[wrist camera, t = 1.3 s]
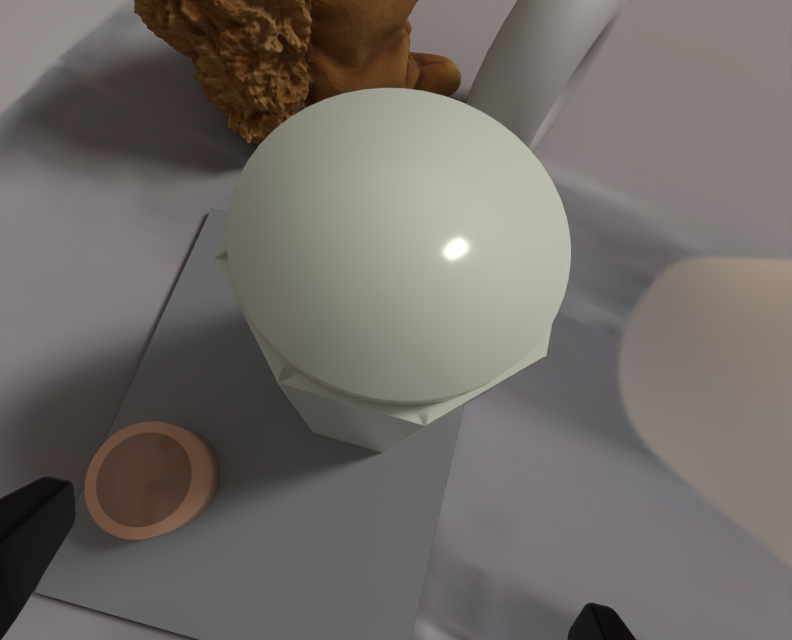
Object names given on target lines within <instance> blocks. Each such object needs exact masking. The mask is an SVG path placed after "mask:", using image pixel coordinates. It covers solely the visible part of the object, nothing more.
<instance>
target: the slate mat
mask: <svg viewBox="0 0 792 640" xmlns="http://www.w3.org/2000/svg"><path fill="white" fill-rule="evenodd" d="M227 216H228V213H227V212H224V211H221V210H217V209H214V208H211V211H210V213H209V215H208V217H207V219H206V221H205V224H204V226H203V228H202V230H201V232H200V234H199V237H198V239H197V241H196V243H195V245H194V248H193V250H192V252H191V254H190V256H189V258H188V261H187V263H186V265H185V267H184V269H183V271H182V274H181V276H180V278H179V280H178V282H177V284H176V287H175V289H174V291H173V293H172V295H171V298H170V300H169V302H168V304H167V306H166V308H165V311H164V313H163V315H162V317H161V319H160V321H159V324H158V326H157V328H156V330H155V332H154V334H153V337H152V339H151V341H150V343H149V345H148V348H147V350H146V352H145V354H144V356H143V358H142V361H141V363H140V365H139V367H138V369H137V371H136V374H135V376H134V378H133V380H132V382H131V384H130V387H129V389H128V391H127V393H126V395H125V398H124V400H123V402H122V404H121V406H120V408H119V411H118V413H117V415H116V417H115V419H114V421H113V424H112V426H111V428H110V430H109V432H108V434H107V437H106V439H105V441H104V443H105V442H106V441H107V440H108V439H109V438H110V437H111V436H113V435H114V434H115V433H117V432H118V431H120V430H122V429H124V428H126V427H128V426H131V425H134V424H137V423H142V422H150V421H156V422H164V423H168V424H171V425H175V426H178V427H181V428H185V429H188V430H191V431H194V432H196V433H198V434H199V435H201V436H202V437H204V438H205V439H206V440H207V441H208V442H209V443H210V445H211V446H212V447H213V449H214V451H215V453H216V455H217V458H218V461H219V466H220V480H219V486H218V489H217V492H216V494H215V497H214V499H213V501H212V502H211V504H210V505H209V507H208V508H207V509H206V511H205V512H204V513H203V514H202V515H201V516H200V517H199V518H197V519H196V520H195V521H193V522H192V523H190V524H189V525H187V526H185V527H183V528H180V529H177V530H174V531H171V532H168V533H165V534H161V535H158V536H155V537H152V538H147V539H141V540H129V539H123V538H119V537H116V536H114V535H112V534H110V533H108V532H106V531H105V530H104V529H102V528H101V527H100V526H99V525H98V524H97V523H96V522H95V520H94V519H93V517H92V516H91V514H90V512H89V510H88V507H87V504H86V500H85V484H84V487H83V489H82V491H81V493H80V495H79V498H78V500H77V502H76V504H75V508H76V518H75V521H74V524H73V526H72V528H71V530H70V532H69V533H68V535H67V537H66V538H65V540H64V542H63V543H62V545H61V547H60V548H59V550H58V551H57V553H56V555H55V556H54V558H53V560H52V561H51V563H50V565H49V566H48V568H47V570H46V571H45V573H44V574H43V576H42V578H41V580H40V582H39V585H38V587H37V589H36V591H35V593H39V594H42V595H46V596H49V597H53V598H56V599H60V600H63V601H67V602H70V603H74V604H77V605H81V606H84V607H88V608H91V609H94V610H98V611H101V612H105V613H108V614H112V615H115V616H119V617H122V618H126V619H129V620H133V621H136V622H140V623H143V624H147V625H150V626H154V627H157V628H160V629H164V630H167V631H171V632H174V633H178V634H181V635H185V636H188V637H192V638H195V639H199V640H411V636H412V631H413V627H414V622H415V618H416V614H417V609H418V605H419V601H420V596H421V592H422V588H423V583H424V579H425V575H426V570H427V566H428V561H429V557H430V553H431V548H432V544H433V540H434V535H435V531H436V527H437V522H438V518H439V514H440V509H441V505H442V500H443V496H444V492H445V487H446V483H447V479H448V474H449V470H450V466H451V461H452V457H453V453H454V448H455V444H456V439H457V435H458V431H459V426H460V422H461V418H462V413H463V409H464V406H462V407H460V408H459V409H457V410H455V411H454V412H452V413H450V414H449V415H447V416H445V417H444V418H441V419H440V420H438V421H436V422H435V423H433V424H431V425H429V426H428V427H426V428H424V429H422V430H421V431H419V432H417V433H416V434H414V435H412V436H410V437H409V438H407V439H405V440H403V441H402V442H400V443H398V444H397V445H395V446H393V447H391V448H390V449H388V450H387V451H385V452H383V453H381V452H378V451H374V450H371V449H368V448H364V447H361V446H357V445H354V444H351V443H347V442H344V441H340V440H337V439H334V438H330V437H327V436H323V435H320V434H316V433H313V432H312V431H311V429H310V428H309V426H308V425H307V424H306V422H305V421H304V419H303V418H302V417H301V415H300V414H299V412H298V411H297V410H296V408H295V407H294V405H293V404H292V403H291V401H290V400H289V399H288V397H287V396H286V394H285V393H284V392H283V390H282V389H281V387H280V386H279V385H278V383H277V380H276V378H275V376H274V374H273V372H272V370H271V368H270V366H269V364H268V362H267V360H266V358H265V356H264V354H263V352H262V350H261V348H260V346H259V344H258V342H257V340H256V338H255V336H254V334H253V332H252V330H251V328H250V326H249V324H248V322H247V320H246V318H245V316H244V314H243V312H242V310H241V308H240V306H239V304H238V302H237V300H236V298H235V296H234V294H233V292H232V290H231V288H230V286H229V284H228V282H227V280H226V278H225V276H224V275H223V273H222V271H221V269H220V267H219V265H218V263H217V261H216V260H215V256H216V254H217V252H218V249H219V247H220V245H221V243H222V240H223V238H224V236H225V233H226V229H227ZM104 443H103V444H104Z"/></svg>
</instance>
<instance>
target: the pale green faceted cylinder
mask: <svg viewBox="0 0 792 640" xmlns="http://www.w3.org/2000/svg"><path fill="white" fill-rule="evenodd" d="M215 260H216V261H217V263H218V265H219V267H220V269H221V271H222V273H223V275H224V276H225V278H226V280H227V282H228V284H229V286H230V288H231V290H232V292H233V294H234V296H235V298H236V300H237V302H238V304H239V306H240V308H241V310H242V312H243V314H244V316H245V318H246V320H247V322H248V324H249V326H250V328H251V330H252V332H253V334H254V336H255V338H256V340H257V342H258V344H259V346H260V348H261V350H262V352H263V354H264V356H265V358H266V360H267V362H268V364H269V366H270V368H271V370H272V372H273V374H274V376H275V378H276V380H277V383H278V385H279V386H280V387H281V389H282V390H283V392H284V393H285V394H286V396H287V397H288V399H289V400H290V401H291V403H292V404H293V405H294V407H295V408H296V410H297V411H298V412H299V414H300V415H301V417H302V418H303V419H304V421H305V422H306V424H307V425H308V426H309V428H310V429H311V431H312V432H313V433H316V434H320V435H323V436H327V437H330V438H334V439H337V440H340V441H344V442H347V443H351V444H354V445H357V446H361V447H364V448H368V449H371V450H374V451H378V452H381V453H383V452H385V451H387V450H388V449H390V448H391V447H393V446H395V445H397V444H398V443H400V442H402V441H403V440H405V439H407V438H409V437H410V436H412V435H414V434H416V433H417V432H419V431H421V430H422V429H424V428H426V427H428V426H429V425H431V424H433V423H435V422H436V421H438V420H440V419H441V418H444V417H445V416H447V415H449V414H450V413H452V412H454V411H455V410H457V409H459V408H460V407H462V406H464V405H465V404H467V403H469V402H470V401H472V400H474V399H475V398H477V397H479V396H481V395H482V394H484V393H486V392H487V391H489V390H491V389H492V388H494V387H496V386H497V385H499V384H501V383H502V382H504V381H506V380H507V379H509V378H511V377H512V376H514V375H516V374H517V373H519V372H521V371H522V370H524V369H526V368H527V367H529V366H531V365H532V364H534V363H536V362H537V361H539V360H541V359H542V358H544V357H546V355H547V349H548V343H549V338H550V332H551V327H552V322H553V320H554V318H555V317H556V315H557V312H558V310H559V307H560V305H561V303H562V300H563V298H564V295H565V291H566V287H567V283H568V279H569V271H570V261H571V246H570V234H569V228H568V223H567V217H566V214H565V211H564V208H563V205H562V202H561V199H560V197H559V194H558V192H557V190H556V188H555V186H554V184H553V182H552V180H551V178H550V177H549V175H548V173H547V172H546V170H545V169H544V167H543V166H542V164H541V163H540V162H539V160H538V159H537V158H536V157H535V155H534V154H533V153H532V152H531V150H530V149H529V148H528V147H527V146H526V145H525V144H524V143H523V142H522V141H521V140H520V139H519V138H518V137H517V136H516V135H515V134H513V133H512V132H511V131H510V130H508V129H507V128H506V127H504V126H503V125H502V124H501V123H499V122H498V121H496V120H495V119H493V118H491V117H490V116H488V115H487V114H485V113H483V112H482V111H480V110H478V109H475V108H473V107H471V106H469V105H467V104H465V103H463V102H460V101H457V100H454V99H452V98H449V97H446V96H443V95H439V94H435V93H430V92H426V91H420V90H413V89H406V88H375V89H364V90H358V91H353V92H348V93H343V94H340V95H337V96H334V97H330V98H327V99H324V100H322V101H320V102H318V103H315V104H313V105H311V106H309V107H306V108H305V109H303V110H301V111H300V112H298V113H296V114H295V115H293V116H291V117H290V118H288V119H287V120H286V121H285V122H283V123H282V124H281V125H280V126H278V127H277V128H276V129H274V130H273V131H272V132H271V133H270V134H269V135H268V136H267V138H266V139H265V140H264V141H263V142H262V143H261V144H260V145H259V146H258V147H257V149H256V150H255V152H254V153H253V154H252V156H251V157H250V158H249V160H248V161H247V163H246V165H245V167H244V169H243V170H242V172H241V174H240V176H239V178H238V180H237V183H236V186H235V189H234V191H233V194H232V197H231V201H230V206H229V211H228V216H227V229H226V233H225V236H224V238H223V240H222V243H221V245H220V247H219V249H218V252H217V254H216V256H215Z"/></svg>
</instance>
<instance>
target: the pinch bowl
mask: <svg viewBox="0 0 792 640" xmlns="http://www.w3.org/2000/svg"><path fill="white" fill-rule="evenodd" d="M219 480H220V466H219V461H218V458H217V455H216V453H215V451H214V449H213V447H212V446H211V445H210V443H209V442H208V441H207V440H206V439H205V438H204V437H202V436H201V435H199V434H198V433H196V432H194V431H191V430H188V429H185V428H181V427H178V426H175V425H171V424H168V423H164V422H156V421H150V422H142V423H137V424H134V425H131V426H128V427H126V428H124V429H122V430H120V431H118V432H117V433H115V434H114V435H113V436H111V437H110V438H109V439H108V440H107V441H106V442H105V443H104V444H103V445H102V446H101V447H100V448H99V450H98V451H97V452H96V454H95V455H94V457H93V459H92V461H91V463H90V465H89V468H88V470H87V474H86V478H85V500H86V504H87V507H88V510H89V512H90V514H91V516H92V517H93V519H94V520H95V522H96V523H97V524H98V525H99V526H100V527H101V528H102V529H104V530H105V531H106V532H108V533H110V534H112V535H114V536H116V537H119V538H123V539H129V540H141V539H147V538H152V537H155V536H158V535H161V534H165V533H168V532H171V531H174V530H177V529H180V528H183V527H185V526H187V525H189V524H190V523H192V522H193V521H195V520H196V519H197V518H199V517H200V516H201V515H202V514H203V513H204V512H205V511H206V509H207V508H208V507H209V505H210V504H211V502H212V501H213V499H214V497H215V494H216V492H217V489H218V486H219Z"/></svg>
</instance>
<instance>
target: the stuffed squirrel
mask: <svg viewBox="0 0 792 640" xmlns="http://www.w3.org/2000/svg"><path fill="white" fill-rule="evenodd" d="M417 1H418V0H134V3H135V6H134V9H135V11H134V13H136V14H138V15H139V16H140V17H141V19H142V21H143V23H145V24H146V25H147V28H148V29H149V30H151V31H152V32H154V34H155V35H156V36H157V37H159V38H161V39H163V40H164V41H165V42H167V43H168V44H169V45H170V46H172V47H174V49H175V50H177V51H178V52H180V53H181V54H183V55H187V56H189V57H192V62H193V64H194V65H195V67H196V69H197V70H198V71H199V72H200V73H198V74H197V75H195V77H194V78H195V79H197V80H199V82H200V85H201V87H200V89H201V90H202V91H204V95H205V96H206V98H207V99H208V100H210V101H211V102H214V104H215V105H216V106H217V109H219V110H220V111H222V112H224V116H226V117H228V129H229V128H232V129H233V131H235V133H239V135H240V137H241V138H244V139H246V141H247V142H248V143H250V142H253V143H254V144H261V143H262V142H263V141H264V140H265V139H266V138H267V136H268V135H269V134H270V133H271V132H272V131H273V130H274V129H276V128H277V127H278V126H280V125H281V124H282V123H283V122H285V121H286V120H287V119H288V118H290V117H291V116H293V115H295V114H296V113H298V112H300V111H301V110H303V109H305V108H306V107H309V106H311V105H313V104H315V103H318V102H320V101H322V100H324V99H327V98H330V97H334V96H337V95H340V94H343V93H348V92H353V91H358V90H364V89H375V88H406V89H413V90H420V91H426V92H430V93H435V94H439V95H443V96H446V97H449V96H450V95H452V94H453V93H454V92H455V91H456V90H457V89H458V88H459V85H460V84H461V73H460V71H459V70H458V69H457V67H456V65H455V64H454V63H453V62H452V61H451V60H449V59H448V58H445V57H442V56H439V55H433V54H425V53H413V52H410V51H409V47H410V38H409V35H410V33H411V25H410V22H409V15H410V13H411V11H412V9H413V8H414V6H415V4H416V3H417Z"/></svg>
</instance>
